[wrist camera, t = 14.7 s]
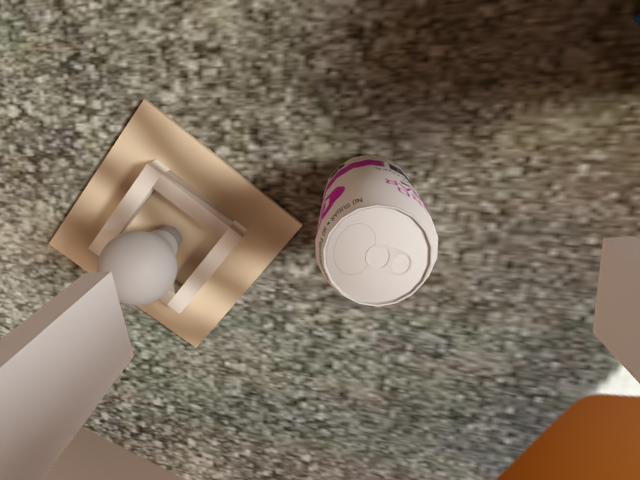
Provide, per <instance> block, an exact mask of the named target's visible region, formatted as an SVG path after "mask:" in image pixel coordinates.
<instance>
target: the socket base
mask: <svg viewBox="0 0 640 480" xmlns="http://www.w3.org/2000/svg"><path fill="white" fill-rule="evenodd" d="M302 225H303V223H301V222H300V221H299V220H298V219H296V218H295V217H294V216H293V215H291V214H290V213H289V212H288V211H286V210H285V209H284V208H283V207H281V206H280V205H279V204H278V203H276V202H275V201H274V200H273V199H271V198H270V197H269V196H267V195H266V194H265V193H264V192H262V191H261V190H260V189H259V188H257V187H256V186H255V185H254V184H252V183H251V182H250V181H249V180H247V179H246V178H245V177H244V176H242V175H241V174H240V173H239V172H237V171H236V170H235V169H234V168H232V167H231V166H230V165H229V164H227V163H226V162H225V161H224V160H222V159H221V158H220V157H219V156H217V155H216V154H215V153H214V152H212V151H211V150H210V149H209V148H207V147H206V146H205V145H204V144H202V143H201V142H200V141H199V140H197V139H196V138H195V137H194V136H192V135H191V134H190V133H189V132H187V131H186V130H185V129H184V128H182V127H181V126H180V125H179V124H177V123H176V122H175V121H174V120H172V119H171V118H170V117H169V116H167V115H166V114H165V113H164V112H162V111H161V110H160V109H158V108H157V107H156V106H155V105H153V104H152V103H151V102H150V101H148V100H147V99H144V100H143V101H142V103H141V105H140V106H139V108H138V109H137V111H136V112H135V114H134V115H133V117H132V118H131V120H130V121H129V123H128V124H127V126H126V127H125V129H124V130H123V132H122V133H121V135H120V136H119V138H118V139H117V141H116V142H115V144H114V146H113V147H112V149H111V150H110V152H109V153H108V155H107V156H106V158H105V159H104V161H103V162H102V164H101V165H100V167H99V168H98V170H97V171H96V173H95V174H94V176H93V177H92V179H91V180H90V182H89V183H88V185H87V186H86V188H85V190H84V191H83V193H82V194H81V196H80V197H79V199H78V200H77V202H76V203H75V205H74V206H73V208H72V209H71V211H70V212H69V214H68V215H67V217H66V218H65V220H64V221H63V223H62V224H61V226H60V227H59V229H58V231H57V232H56V234H55V235H54V237H53V238H52V240H51V241H50V243H49V245H50V246H52V247H53V248H55V249H56V250H57V251H59V252H60V253H62V254H63V255H65V256H66V257H67V258H69V259H70V260H72V261H73V262H74V263H76V264H77V265H79V266H80V267H82V268H83V269H84V270H86V271H87V272H89V273H94V272H97V263H98V259H99V255H100V253H101V252H102V250H103V248H104V247H105V245H106V244H107V243H108V242H109V241H110V240H112V239H113V238H115V237H116V236H117V235H120V234H122V233H125V232H130V231H146V232H151V231H154V230H158V229H159V228H161V227H163V226H171V227H174V228H175V229H177V230H178V231H179V233H180V234H181V238H182V241H181V244H180V246H179V248H178V249H177V253H176V255H175V257H176V260H177V274H176V278H175V281H174V284H173V285H172V287H171V289H170V290H169V291H168V292H167V293H166V294H165V295H164V296H163V297H161V298H160V299H158V300H157V301H155V302H152V303H150V304H146V305H141V306H137V307H139V308H140V309H142V310H143V311H144V312H146V313H147V314H149V315H150V316H152V317H153V318H154V319H156V320H157V321H159V322H160V323H162V324H163V325H164V326H166V327H167V328H169V329H170V330H172V331H173V332H174V333H176V334H177V335H179V336H180V337H181V338H183V339H184V340H186V341H187V342H189V343H190V344H191V345H193V346H194V347H196V348H197V346H198V345H199V344H200V343H201V342H202V341H203V340H204V338H205V337H206V336H207V335H208V334H209V333H210V331H211V330H212V329H213V328H214V327H215V326H216V325H217V323H218V322H219V321H220V320H221V319H222V318H223V316H224V315H225V314H226V313H227V312H228V311H229V310H230V308H231V307H232V306H233V305H234V304H235V303H236V302H237V300H238V299H239V298H240V297H241V296H242V295H243V293H244V292H245V291H246V290H247V289H248V288H249V287H250V285H251V284H252V283H253V282H254V281H255V280H256V278H257V277H258V276H259V275H260V274H261V273H262V272H263V270H264V269H265V268H266V267H267V266H268V265H269V263H270V262H271V261H272V260H273V259H274V258H275V257H276V255H277V254H278V253H279V252H280V251H281V250H282V249H283V247H284V246H285V245H286V244H287V243H288V242H289V240H290V239H291V238H292V237H293V236H294V235H295V234H296V232H297V231H298V230H299V229H300V228H301V227H302Z"/></svg>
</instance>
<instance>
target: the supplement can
mask: <svg viewBox="0 0 640 480" xmlns="http://www.w3.org/2000/svg"><path fill="white" fill-rule="evenodd" d="M315 246H316V261H317V263H318V265H319V268H320V270H321V272H322V274H323V276H324V278H325V279H326V280H327V281H328V282H329V284H330V285H331V286H332V287H333V288H334V289H335V290H336V291H337V292H339V293H341V294H342V295H343V296H345V297H347V298H349V299H351V300H353V301H355V302H357V303H359V304H364V305H371V306H383V305H389V304H395V303H397V302H399V301H401V300H403V299H405V298H407V297H409V296H411V295H412V294H413V293H414V292H415V291H416V290H417V289H418V288H419V287H420V286H421V285H422V284H423V283H424V282H425V280H426V279H427V278H428V277H429V275H430V273H431V271H432V269H433V266H434V264H435V262H436V259H437V252H438V236H437V233H436V230H435V227H434V224H433V222H432V219H431V217H430V215H429V213H428V211H427V210H426V208H425V206H424V204H423V202H422V201H421V199H420V197H419V195H418V193H417V192H416V190H415V188H414V186H413V184H412V183H411V181H410V179H409V177H408V176H407V175H406V173H405V172H404V171H403V170H402V169H401V168H400V166H399V165H398V164H396V163H394V162H393V161H391V160H389V159H387V158H385V157H382V156H375V155H363V156H358V157H353V158H351V159H349V160H348V161H346V162H344V163H343V164H341V165H340V166H338V167H337V169H336V170H335V171H334V172H333V174H332V175H331V176H330V177H329V179H328V182H327V185H326V188H325V191H324V195H323V200H322V206H321V211H320V217H319V222H318V228H317V233H316V239H315Z"/></svg>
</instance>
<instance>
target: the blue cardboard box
mask: <svg viewBox="0 0 640 480" xmlns="http://www.w3.org/2000/svg"><path fill="white" fill-rule="evenodd" d="M633 19H634V20H635V21H636V22H637V23H638V24H639V25H640V12H639V13H638V14H637V15H636V16H635V17H634V18H633Z"/></svg>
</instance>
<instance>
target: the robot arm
mask: <svg viewBox="0 0 640 480" xmlns="http://www.w3.org/2000/svg"><path fill="white" fill-rule="evenodd" d="M593 333H594V334H595V336H596V337H597V338H598V339H599V340H600V341H601V342H602V343H603V344H604V345H605V346H606V347H607V349H608V350H609V351H610V352H611V353H612V354H613V355H614V356H615V357H616V358H617V359H618V360H619V362H620V363H621V364H622V365H623V366H624V367H625V368H626V369H627V370H628V371H629V372H630V373H631V375H632V376H633V377H634V378H635V379H636V380H637V381H638V382H639V383H640V239H639V238H637V237H635V236H633V237H618V238H603V247H602V255H601V264H600V273H599V282H598V290H597V299H596V308H595V316H594V325H593ZM133 356H134V355H133V351H132V348H131V344H130V340H129V336H128V333H127V329H126V325H125V321H124V317H123V314H122V310H121V306H120V302H119V298H118V295H117V291H116V287H115V283H114V279H113V276H112V272H111V271H109V272H94V273H85V274H83V275H82V276H81V277H80V278H78V279H77V280H76V281H74V282H73V283H72V284H71V285H69V286H68V287H67V288H66V289H64V290H63V291H62V292H60V293H59V294H58V295H57V296H55V297H54V298H53V299H52V300H50V301H49V302H48V303H47V304H45V305H44V306H43V307H41V308H40V309H39V310H38V311H36V312H35V313H34V314H33V315H31V316H30V317H29V318H28V319H26V320H25V321H24V322H22V323H21V324H20V325H19V326H17V327H16V328H15V329H14V330H12V331H11V332H10V333H8V334H7V335H6V336H5V337H3V338H2V339H1V340H0V480H43V478H44V477H45V476H46V474H47V473H48V472H49V470H50V469H51V467H52V466H53V465H54V463H55V462H56V461H57V459H58V458H59V457H60V455H61V454H62V453H63V451H64V450H65V448H66V447H67V446H68V444H69V443H70V442H71V440H72V439H73V438H74V436H75V435H76V434H77V432H78V431H79V430H80V428H81V427H82V425H83V424H84V423H85V421H86V420H87V419H88V417H89V416H90V415H91V413H92V412H93V411H94V409H95V408H96V406H97V405H98V404H99V402H100V401H101V400H102V398H103V397H104V396H105V394H106V393H107V392H108V390H109V389H110V387H111V386H112V385H113V383H114V382H115V381H116V379H117V378H118V377H119V375H120V374H121V373H122V371H123V370H124V368H125V367H126V366H127V364H128V363H129V362H130V360H131V359H132V358H133Z"/></svg>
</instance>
